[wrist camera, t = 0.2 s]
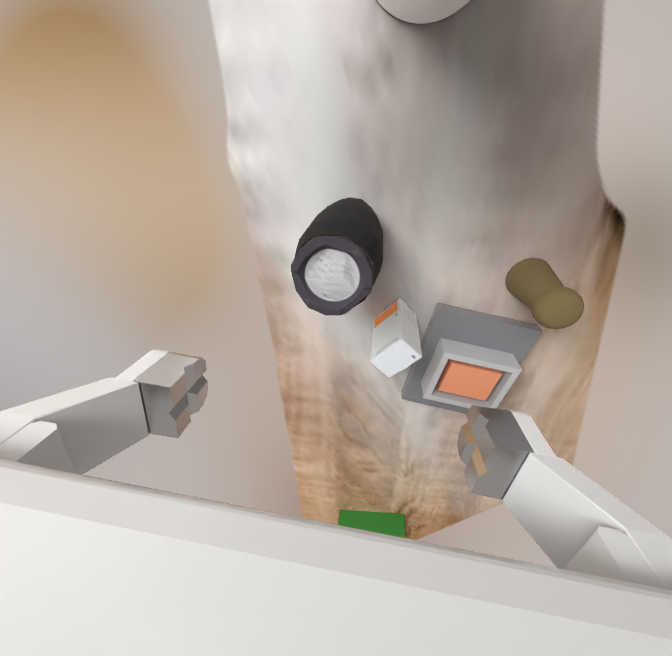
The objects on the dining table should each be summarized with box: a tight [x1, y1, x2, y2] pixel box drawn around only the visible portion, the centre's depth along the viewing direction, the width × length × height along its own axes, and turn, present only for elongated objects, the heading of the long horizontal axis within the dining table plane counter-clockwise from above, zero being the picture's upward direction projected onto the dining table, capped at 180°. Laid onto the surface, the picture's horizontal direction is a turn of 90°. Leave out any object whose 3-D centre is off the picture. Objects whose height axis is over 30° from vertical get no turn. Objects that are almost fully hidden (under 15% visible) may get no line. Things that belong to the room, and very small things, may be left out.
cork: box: [506, 258, 584, 329], centre depth 41 cm, size 6×6×11 cm
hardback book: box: [338, 510, 405, 538], centre depth 77 cm, size 18×7×24 cm, turn 98°
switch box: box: [402, 303, 542, 413], centre depth 52 cm, size 20×16×6 cm
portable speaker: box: [291, 198, 383, 315], centre depth 37 cm, size 9×9×20 cm
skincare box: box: [370, 298, 422, 378], centre depth 47 cm, size 6×4×12 cm
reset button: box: [437, 359, 502, 401], centre depth 51 cm, size 6×8×2 cm
